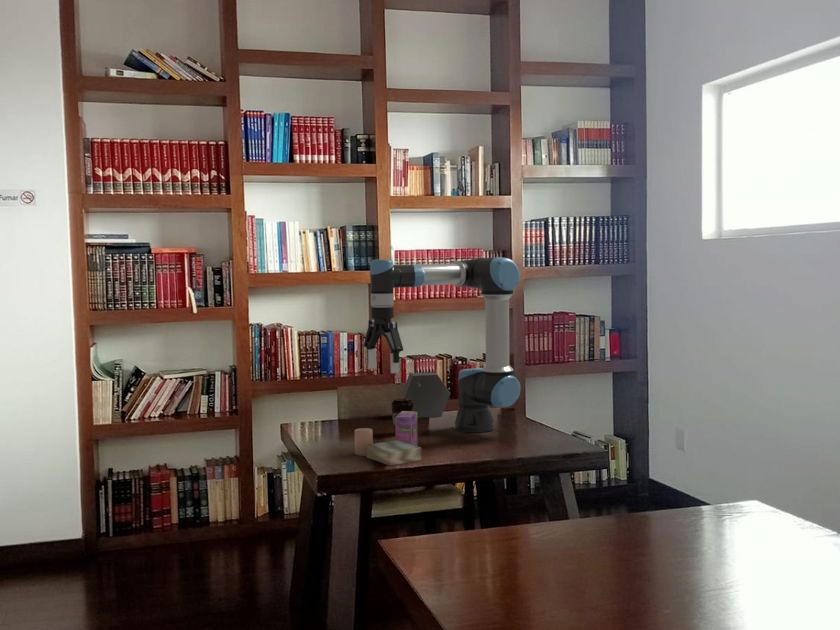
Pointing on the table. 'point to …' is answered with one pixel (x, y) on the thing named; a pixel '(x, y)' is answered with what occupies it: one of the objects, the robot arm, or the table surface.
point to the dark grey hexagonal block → (426, 394)
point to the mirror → (393, 452)
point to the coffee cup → (401, 407)
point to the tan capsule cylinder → (363, 440)
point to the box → (406, 427)
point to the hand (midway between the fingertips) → (383, 370)
